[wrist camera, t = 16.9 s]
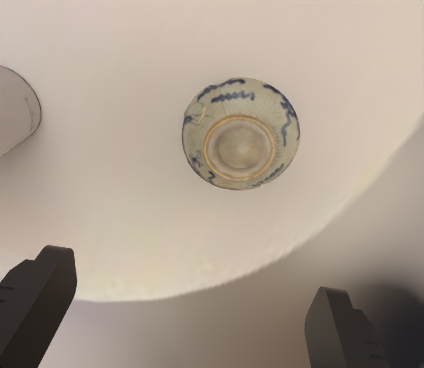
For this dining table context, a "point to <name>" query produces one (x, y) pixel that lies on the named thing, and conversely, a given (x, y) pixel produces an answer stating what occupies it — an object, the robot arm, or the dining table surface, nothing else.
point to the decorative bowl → (240, 134)
